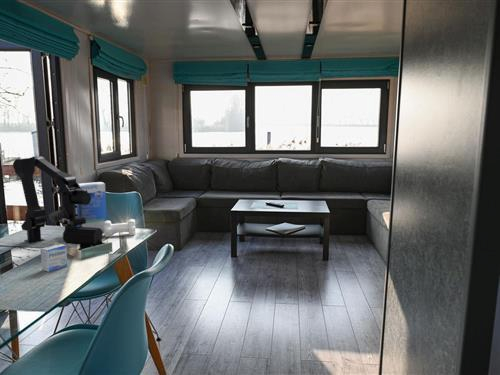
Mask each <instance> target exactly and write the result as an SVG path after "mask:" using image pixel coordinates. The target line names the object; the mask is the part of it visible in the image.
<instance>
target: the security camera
mask: <svg viewBox="0 0 500 375" xmlns="http://www.w3.org/2000/svg"><path fill="white" fill-rule="evenodd" d="M62 238H63V240H62V242H64V243H65V245H66V244H67V245H68V244H69V245H70V244H71V245H79V248H77V249H78V250H82V249H86V248H90V247H93V246H96V245H101V244H104V243H102V242H103V239H104V237H103V233H102V230H101V229H100V228H92V227H78V226H77V227H75V226H70V227H67V228H65V227H64V230H63V232H62Z"/></svg>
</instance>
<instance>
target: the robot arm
mask: <svg viewBox="0 0 500 375" xmlns="http://www.w3.org/2000/svg"><path fill="white" fill-rule="evenodd" d="M12 167H13V170H14V172H15V174H16V175H17V176H18V177H19V178H20V181H21V186H22V190H23V194H24V199H25V203H26V208H27V209H26V212H25V214H24V216H25V221H23V223H22V224H21V225H20V227H21V230H22V231H26V237H27V239H24V242H25V243H29V244H34V243H39V242H42V241H45V239H44V238H42V230H41V228H45V225H46V221H47V218H49V220H50V222H51V223H54V224H56V223H58V222H59V223H60V224H61V225H62V226H64V229H65V228H67V227H70V226H75V227H78V225H80V224H85V223H86V219H85V218H84V217H81V216H79V217H77V216H78V214H77V204H79V205H88V204H89V203H90V201H91V196H90V194H89V193H88V192H87V190H82V188H81V187H80V185H79V182H78V181H77V178H76V176H74V175H72V174H70V173H68V172H63V171H61V170H60V169H58V168H57V167H56V166H54V165H53V164H52V163H51V162H49V161H48V160H46V159H45V157H44V156H42V155H36V156H35V155H34V156H31V157H26V158H16V159H15V160H14V161H13V162H12ZM36 167H37V169H39V170H40V171H42V172H43V173H44V174H46V175H47V176H49V177H50V178H51V179H52V180H53V182H54V184H55V186H57V187H58V188H59V190H57V191H56V194H58V195H60V202H61V203H60V205H59V206H58V210H55V211H53V212H51V213H49V214H48V215H47V211H46V208H42V207H41V206H40V203H39V199H38V194H37V189H36V186H35V181H34V180H35V179H34V174H35V171H36Z"/></svg>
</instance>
